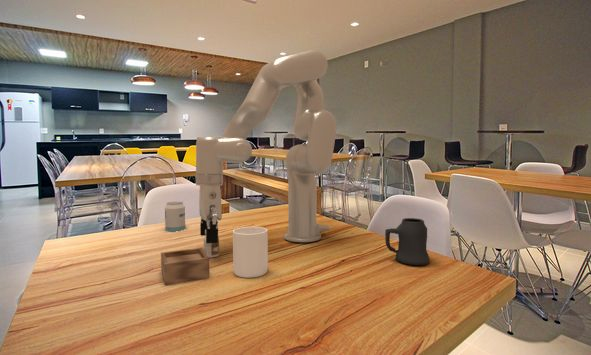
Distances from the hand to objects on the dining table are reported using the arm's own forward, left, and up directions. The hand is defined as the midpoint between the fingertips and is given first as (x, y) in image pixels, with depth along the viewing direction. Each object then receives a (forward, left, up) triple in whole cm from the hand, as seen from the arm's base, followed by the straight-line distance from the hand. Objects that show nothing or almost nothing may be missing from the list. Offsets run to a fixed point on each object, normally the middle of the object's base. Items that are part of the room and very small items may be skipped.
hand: (208, 238), depth 97 cm
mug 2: (-50, +27, -5) cm, 57 cm away
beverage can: (+6, -32, -5) cm, 33 cm away
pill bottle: (-1, 0, -5) cm, 5 cm away
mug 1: (-8, +17, -5) cm, 19 cm away
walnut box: (+8, +13, -5) cm, 16 cm away
